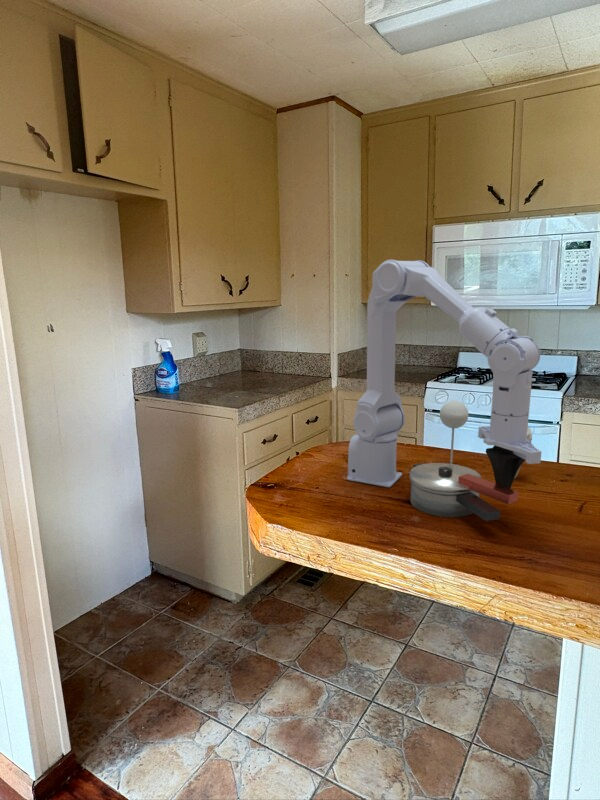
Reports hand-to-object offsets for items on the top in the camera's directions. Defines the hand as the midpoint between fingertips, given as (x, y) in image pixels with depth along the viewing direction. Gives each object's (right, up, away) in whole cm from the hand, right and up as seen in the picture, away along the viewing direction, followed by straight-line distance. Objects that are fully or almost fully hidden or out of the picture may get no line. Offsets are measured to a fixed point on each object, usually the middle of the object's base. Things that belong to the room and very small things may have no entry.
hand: (503, 490), depth 89 cm
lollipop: (-1, 0, +26) cm, 26 cm away
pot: (-7, -4, +6) cm, 10 cm away
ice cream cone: (+10, -1, +20) cm, 22 cm away
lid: (-6, 0, +4) cm, 7 cm away
